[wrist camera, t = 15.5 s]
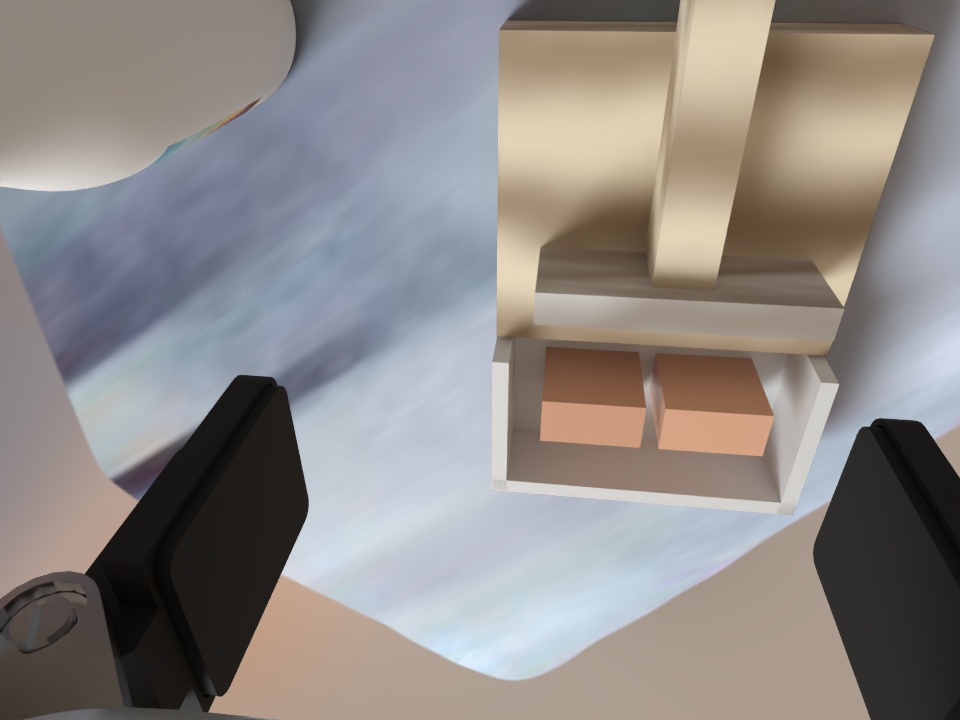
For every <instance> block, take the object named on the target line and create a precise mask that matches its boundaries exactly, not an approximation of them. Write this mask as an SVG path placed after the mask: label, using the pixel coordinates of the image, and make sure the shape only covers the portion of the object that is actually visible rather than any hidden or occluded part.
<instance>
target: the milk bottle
mask: <svg viewBox="0 0 960 720" xmlns="http://www.w3.org/2000/svg"><path fill="white" fill-rule="evenodd" d="M295 46H296V26H295V18H294V13H293V8H292V4H291V1H290V0H0V186H1V187H10V188H19V189H27V190H40V191H70V190H80V189H86V188H92V187H97V186H101V185H105V184H108V183H111V182H115V181H118V180H121V179H124V178H126V177H129V176H131V175H133V174H135V173H137V172H139V171H141V170H143V169H145V168H148V167H150V166H152V165H154V164H156V163H158V162H160V161H162V160H163V159H165V158H167V157H169V156H170V155H172V154H174V153H176V152H178V151H179V150H181V149H183V148H185V147H187V146H188V145H190V144H192V143H194V142H195V141H197V140H199V139H201V138H203V137H204V136H206V135H208V134H210V133H211V132H213V131H215V130H216V129H218V128H220V127H222V126H223V125H225V124H227V123H228V122H230V121H232V120H234V119H235V118H237V117H239V116H240V115H242V114H244V113H246V112H247V111H249V110H251V109H252V108H254V107H256V106H257V105H259V104H260V103H262V102H263V101H264V100H266V99H267V98H269V97H270V96H271V95H272V94H273V93H274V92H275V91H277V89H278V88H279V87H280V86H281V84H282V83H283V81H284V80H285V78H286V76H287V74H288V72H289V70H290V67H291V65H292V61H293V58H294V53H295Z"/></svg>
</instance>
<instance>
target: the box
mask: <svg viewBox="0 0 960 720" xmlns="http://www.w3.org/2000/svg"><path fill="white" fill-rule="evenodd" d="M546 347H559V348H577V349H594V350H612V351H629V352H639V357H640V365H641V372H642V379H643V387H644V394H645V401H646V414H645V420H644V426H643V433H642V439H641V445H640V448H636V447H622V446H608V445H594V444H580V443H567V442H553V441H540V430H541V411H542V395H543V382H544V369H545V356H546ZM656 353H668V354H686V355H703V356H721V357H738V358H752V360H753V363H754V366H755V368H756V371H757V373H758V376H759V378H760V381H761V384H762V386H763V389H764V391H765V394H766V396H767V399H768V401H769V404H770V407H771V409H772V412H773V414H774V419H773V422H772V426H771V429H770V433H769V436H768V439H767V443H766V446H765V450H764V453H763V456H750V455H736V454H722V453H708V452H694V451H680V450H667V449H658V443H657V436H656V429H655V422H654V416H653V409H652V402H651V396H650V385H651V379H652V373H653V367H654V360H655V354H656ZM838 387H839V382H838V380H837V378H836V376H835V375H834V373H833V371H832V369H831V368H830V366H829V364H828V362H827V360H826V359H825V357H824V355H808V354H791V353H774V352H757V351H740V350H723V349H706V348H689V347H672V346H655V345H638V344H621V343H605V342H588V341H571V340H554V339H537V338H520V337H503V336H497V341H496V346H495V351H494V356H493V361H492V490H499V491H511V492H523V493H535V494H547V495H559V496H571V497H583V498H595V499H607V500H619V501H631V502H642V503H654V504H666V505H678V506H690V507H702V508H714V509H726V510H738V511H750V512H762V513H774V514H786V515H793V514H794V511H795V508H796V505H797V502H798V500H799V497H800V494H801V491H802V488H803V486H804V483H805V480H806V477H807V474H808V471H809V469H810V466H811V463H812V460H813V457H814V455H815V452H816V449H817V446H818V443H819V441H820V438H821V435H822V432H823V429H824V427H825V424H826V421H827V418H828V415H829V412H830V410H831V407H832V404H833V401H834V398H835V396H836V393H837V390H838Z"/></svg>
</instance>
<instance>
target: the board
mask: <svg viewBox="0 0 960 720" xmlns="http://www.w3.org/2000/svg"><path fill="white" fill-rule="evenodd" d="M676 29H677V22H634V21H522V20H506V21H505V23H504V24H503V26H502V27H501V28H500V30H499V123H498V236H497V336H503V337H520V338H537V339H554V340H571V341H588V342H605V343H621V344H638V345H655V346H672V347H689V348H706V349H723V350H740V351H757V352H774V353H791V354H808V355H825V356H828V353H829V350H830V347H831V344H832V342H831V341H814V340H796V339H779V338H761V337H744V336H726V335H709V334H692V333H674V332H657V331H639V330H622V329H604V328H587V327H569V326H552V325H534V304H535V289H536V280H537V272H538V263H539V255H540V247H542V248H565V249H587V250H609V251H631V252H645V249H646V241H647V234H648V227H649V220H650V213H651V206H652V199H653V192H654V185H655V178H656V170H657V163H658V156H659V149H660V142H661V135H662V128H663V121H664V114H665V107H666V100H667V92H668V85H669V78H670V71H671V64H672V57H673V50H674V43H675V36H676ZM934 36H935V35H934V34H931V33H928V32H925V31H922V30H919V29H916V28H913V27H910V26H907V25H904V24H857V23H771V24H770V28H769V33H768V38H767V43H766V48H765V52H764V57H763V62H762V67H761V71H760V76H759V81H758V86H757V90H756V95H755V100H754V105H753V109H752V114H751V119H750V124H749V128H748V133H747V138H746V143H745V147H744V152H743V157H742V162H741V167H740V171H739V176H738V181H737V186H736V190H735V195H734V200H733V205H732V209H731V214H730V219H729V224H728V228H727V233H726V238H725V243H724V247H723V252H722V256H742V257H764V258H787V259H809V260H812V261H813V263H814V264H815V265H816V267H817V268H818V270H819V271H820V273H821V274H822V276H823V277H824V279H825V280H826V282H827V283H828V285H829V286H830V288H831V289H832V291H833V292H834V293H835V295H836V296H837V298H838V299H839V301H840V302H841V304H842V305H843V307H844V306H845V303H846V300H847V297H848V294H849V291H850V288H851V285H852V282H853V279H854V276H855V273H856V270H857V267H858V264H859V261H860V258H861V255H862V252H863V249H864V246H865V243H866V240H867V237H868V234H869V231H870V228H871V225H872V222H873V219H874V216H875V213H876V210H877V207H878V204H879V201H880V198H881V195H882V192H883V189H884V186H885V183H886V180H887V177H888V174H889V171H890V168H891V165H892V162H893V159H894V156H895V153H896V150H897V147H898V144H899V141H900V138H901V135H902V132H903V129H904V126H905V123H906V120H907V117H908V114H909V111H910V108H911V105H912V102H913V99H914V96H915V93H916V90H917V87H918V84H919V81H920V78H921V75H922V72H923V69H924V66H925V63H926V60H927V57H928V54H929V51H930V48H931V45H932V42H933V39H934Z"/></svg>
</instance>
